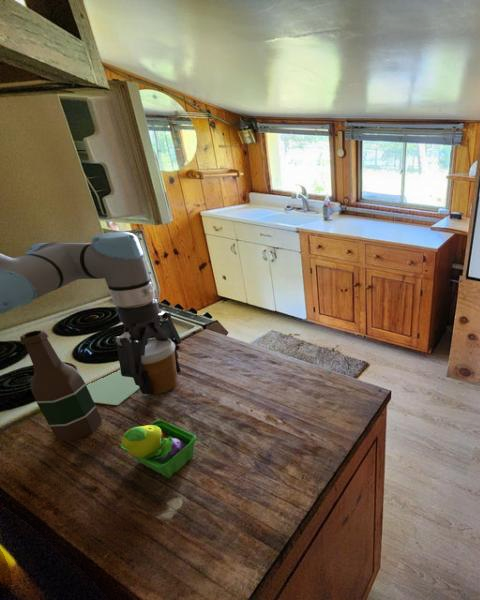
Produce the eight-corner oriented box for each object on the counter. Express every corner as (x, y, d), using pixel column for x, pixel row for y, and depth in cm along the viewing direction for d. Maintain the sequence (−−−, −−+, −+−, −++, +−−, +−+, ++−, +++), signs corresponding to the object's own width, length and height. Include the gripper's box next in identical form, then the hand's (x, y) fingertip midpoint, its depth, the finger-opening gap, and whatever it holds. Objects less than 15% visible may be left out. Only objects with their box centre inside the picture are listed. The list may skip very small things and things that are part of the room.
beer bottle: (112, 420, 73) (71, 327, 63) (72, 447, 66) (19, 348, 56) (86, 412, 75) (43, 320, 65) (45, 437, 68) (-11, 340, 58)
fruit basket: (203, 454, 66) (191, 412, 61) (160, 492, 59) (142, 448, 54) (165, 436, 70) (150, 395, 65) (119, 469, 62) (99, 426, 57)
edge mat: (65, 398, 78) (64, 398, 78) (117, 364, 91) (117, 364, 91) (117, 405, 77) (117, 405, 77) (163, 370, 90) (163, 369, 90)
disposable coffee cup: (132, 400, 78) (116, 359, 73) (151, 375, 87) (138, 337, 82) (176, 396, 80) (163, 356, 75) (190, 372, 89) (180, 335, 84)
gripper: (107, 325, 64) (141, 413, 73) (184, 286, 83) (203, 359, 92) (73, 321, 64) (111, 409, 74) (157, 283, 83) (178, 357, 93)
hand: (162, 381), depth 83 cm, fingers closed on disposable coffee cup, 8 cm apart
